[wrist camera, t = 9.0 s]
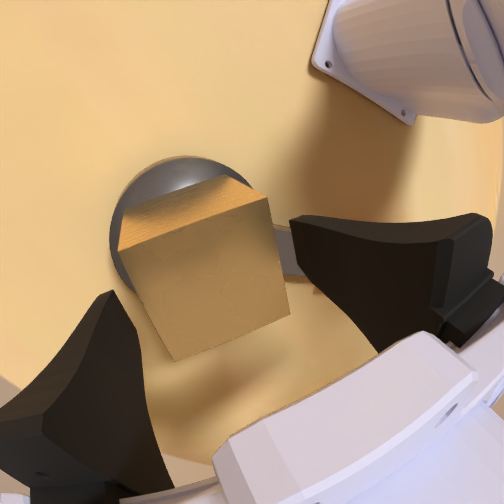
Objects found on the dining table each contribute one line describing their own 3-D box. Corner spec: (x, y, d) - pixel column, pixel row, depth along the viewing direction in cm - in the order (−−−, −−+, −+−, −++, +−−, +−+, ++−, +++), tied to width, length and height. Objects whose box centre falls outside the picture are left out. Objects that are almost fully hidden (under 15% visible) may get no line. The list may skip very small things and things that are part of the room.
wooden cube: (224, 174, 14) (266, 197, 9) (247, 263, 16) (290, 314, 12) (124, 209, 13) (117, 251, 8) (161, 296, 15) (174, 361, 11)
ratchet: (409, 223, 22) (453, 244, 18) (373, 307, 24) (409, 337, 20) (128, 141, 13) (122, 145, 9) (104, 285, 15) (98, 339, 11)
